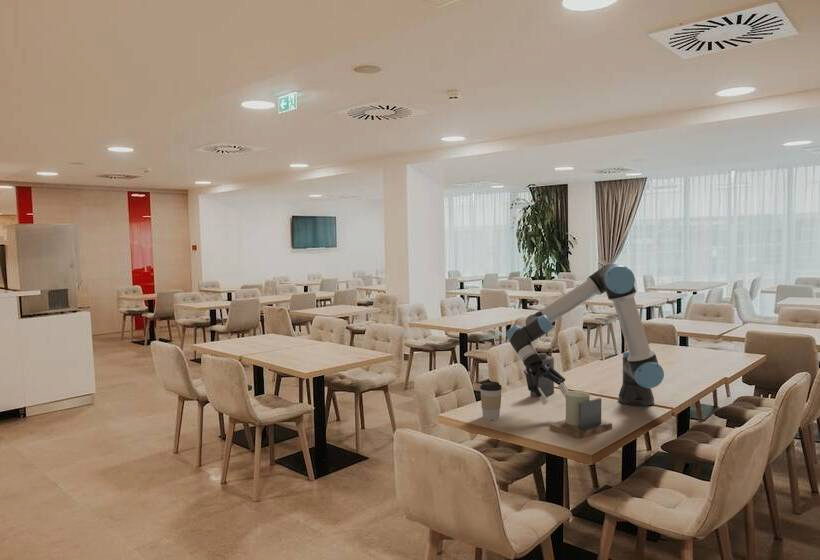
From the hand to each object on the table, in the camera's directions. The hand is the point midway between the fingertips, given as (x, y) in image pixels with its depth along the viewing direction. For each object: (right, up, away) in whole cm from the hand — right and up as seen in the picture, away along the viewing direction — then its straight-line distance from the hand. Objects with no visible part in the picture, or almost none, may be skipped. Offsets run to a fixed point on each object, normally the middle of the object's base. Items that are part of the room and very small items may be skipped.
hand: (557, 400), depth 235 cm
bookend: (+9, -7, -13) cm, 18 cm away
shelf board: (+7, -9, -9) cm, 15 cm away
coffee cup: (-26, -9, +7) cm, 29 cm away
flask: (+4, -6, +42) cm, 42 cm away
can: (+6, -7, -8) cm, 12 cm away
